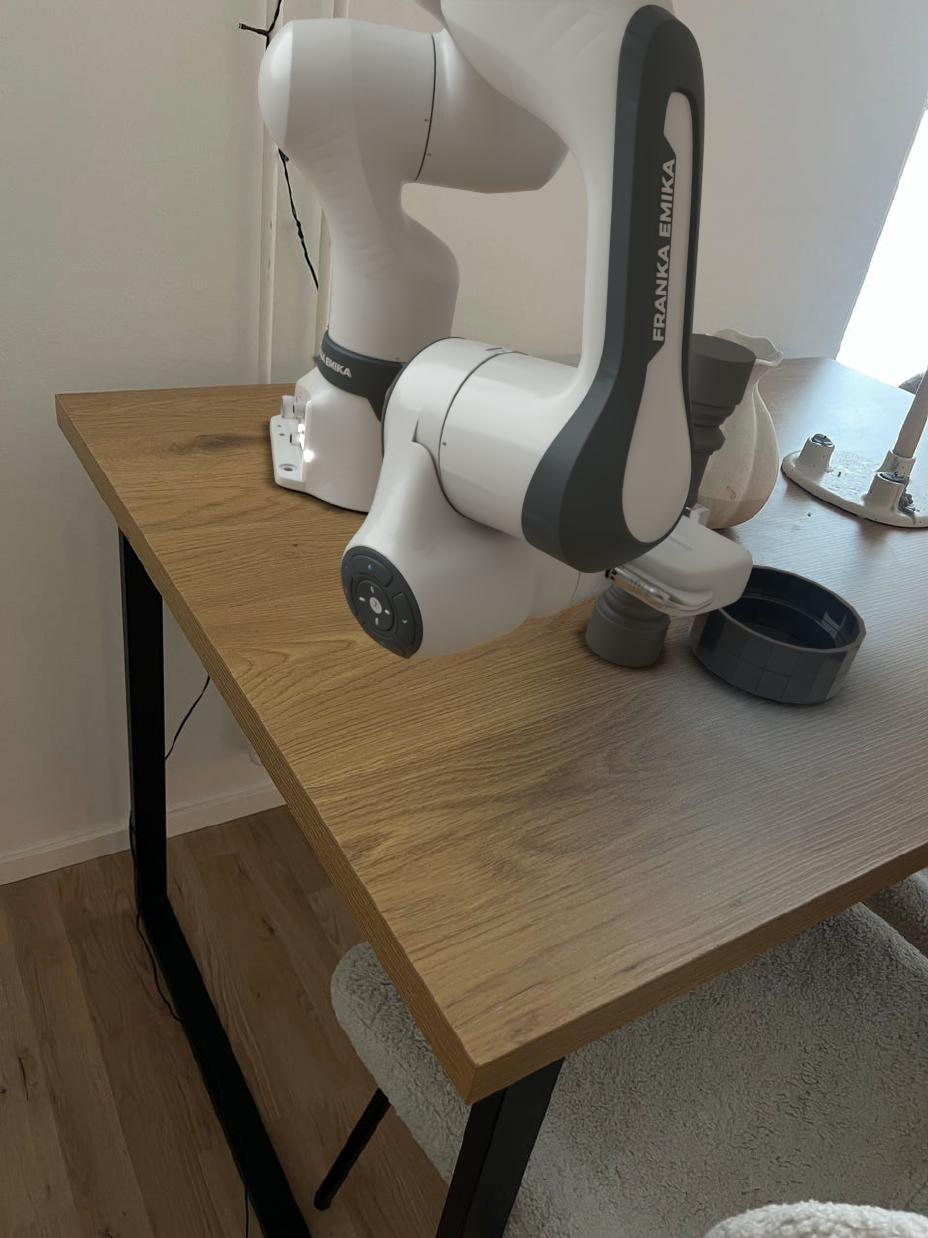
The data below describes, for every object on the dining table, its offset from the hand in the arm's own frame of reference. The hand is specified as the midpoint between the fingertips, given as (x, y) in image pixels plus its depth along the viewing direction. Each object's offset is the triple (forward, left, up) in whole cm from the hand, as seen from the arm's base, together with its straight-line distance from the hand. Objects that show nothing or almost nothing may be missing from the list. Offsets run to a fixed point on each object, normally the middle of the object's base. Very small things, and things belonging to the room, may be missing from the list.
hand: (672, 500), depth 76 cm
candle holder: (0, -1, -13) cm, 13 cm away
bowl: (+4, +11, -13) cm, 17 cm away
